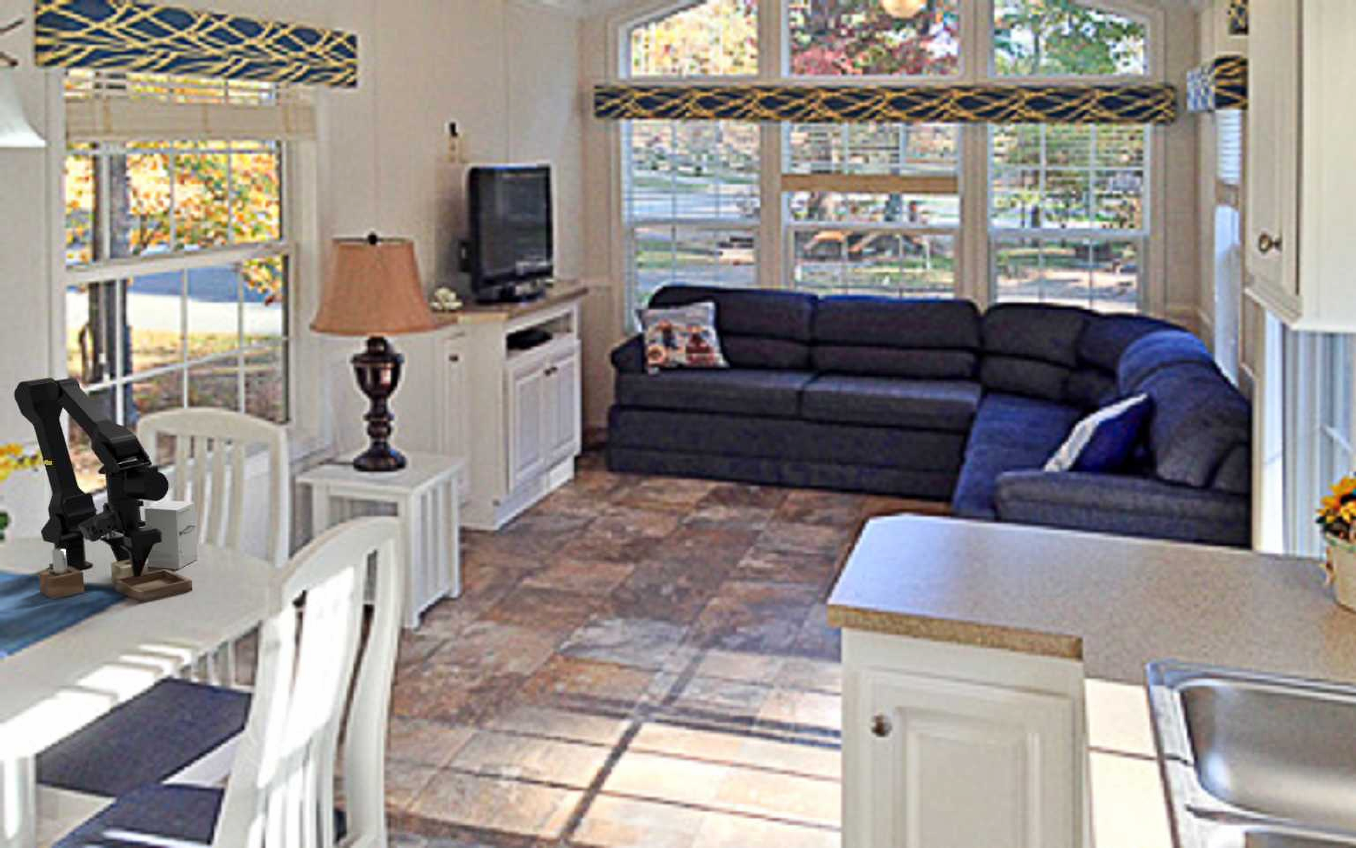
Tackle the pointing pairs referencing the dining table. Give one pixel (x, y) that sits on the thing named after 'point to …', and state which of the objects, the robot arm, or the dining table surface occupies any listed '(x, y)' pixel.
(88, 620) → the dining table surface
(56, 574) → the cylinder
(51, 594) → the brown square socket
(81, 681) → the dining table surface
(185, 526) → the supplement box
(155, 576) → the tray
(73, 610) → the dining table surface
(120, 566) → the maple block
